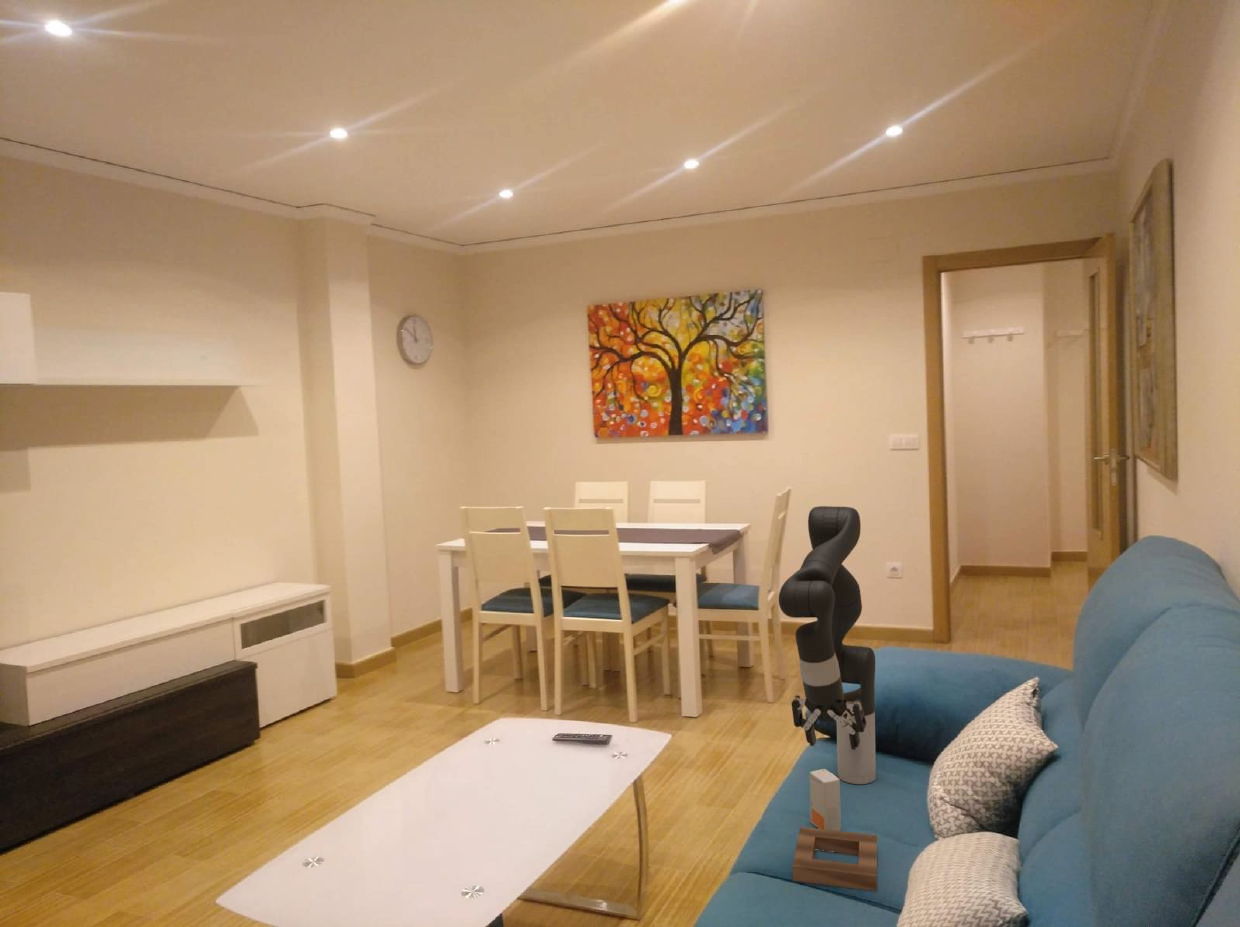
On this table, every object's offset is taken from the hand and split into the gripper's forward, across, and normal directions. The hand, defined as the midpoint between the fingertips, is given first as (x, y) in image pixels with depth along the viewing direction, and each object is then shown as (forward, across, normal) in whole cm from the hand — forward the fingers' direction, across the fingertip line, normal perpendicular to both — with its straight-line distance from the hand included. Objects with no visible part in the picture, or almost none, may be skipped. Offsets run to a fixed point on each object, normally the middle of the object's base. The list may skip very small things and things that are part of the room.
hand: (833, 745), depth 175 cm
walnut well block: (+24, +2, +6) cm, 25 cm away
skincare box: (+27, +8, -8) cm, 29 cm away
